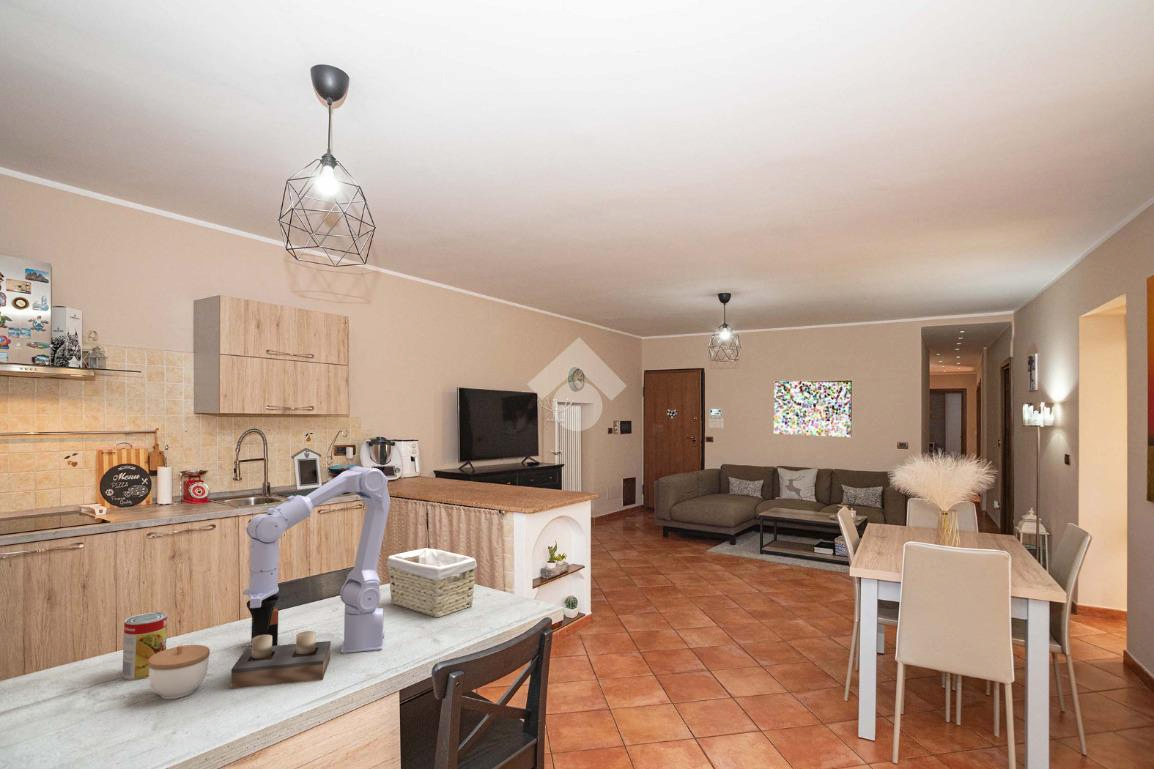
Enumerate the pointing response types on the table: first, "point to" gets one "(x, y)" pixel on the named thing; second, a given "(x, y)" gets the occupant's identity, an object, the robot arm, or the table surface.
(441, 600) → the storage basket
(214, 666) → the table surface
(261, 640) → the outer peg
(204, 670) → the lidded jar
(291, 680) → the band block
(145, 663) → the canned food
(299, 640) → the inner peg
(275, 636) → the battery
